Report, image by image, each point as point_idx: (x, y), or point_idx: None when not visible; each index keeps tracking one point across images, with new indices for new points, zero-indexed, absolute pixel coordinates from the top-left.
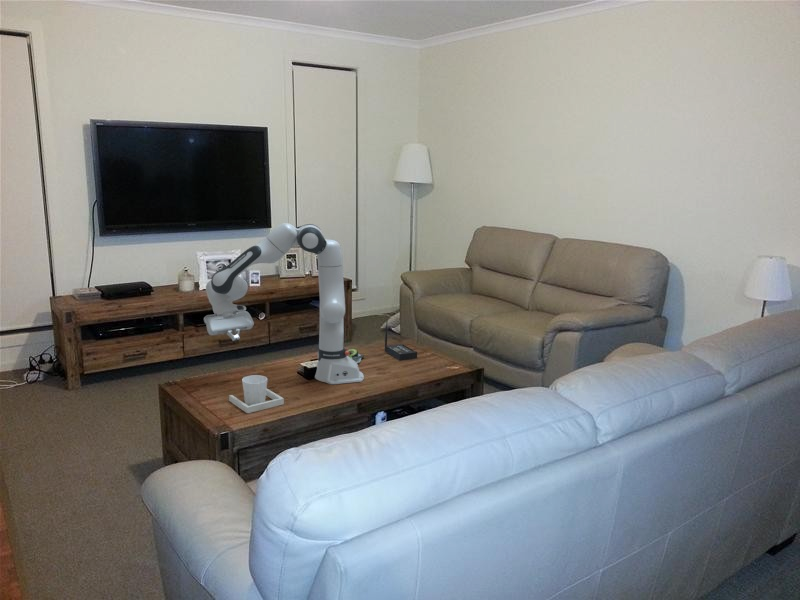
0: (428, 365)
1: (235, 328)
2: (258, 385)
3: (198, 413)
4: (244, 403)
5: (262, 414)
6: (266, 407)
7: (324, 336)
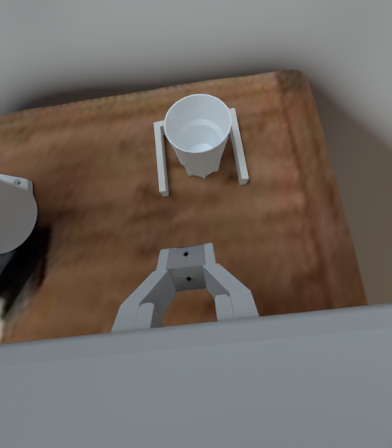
0: None
1: (152, 330)
2: (200, 99)
3: (320, 151)
4: (233, 126)
5: None
6: None
7: None
